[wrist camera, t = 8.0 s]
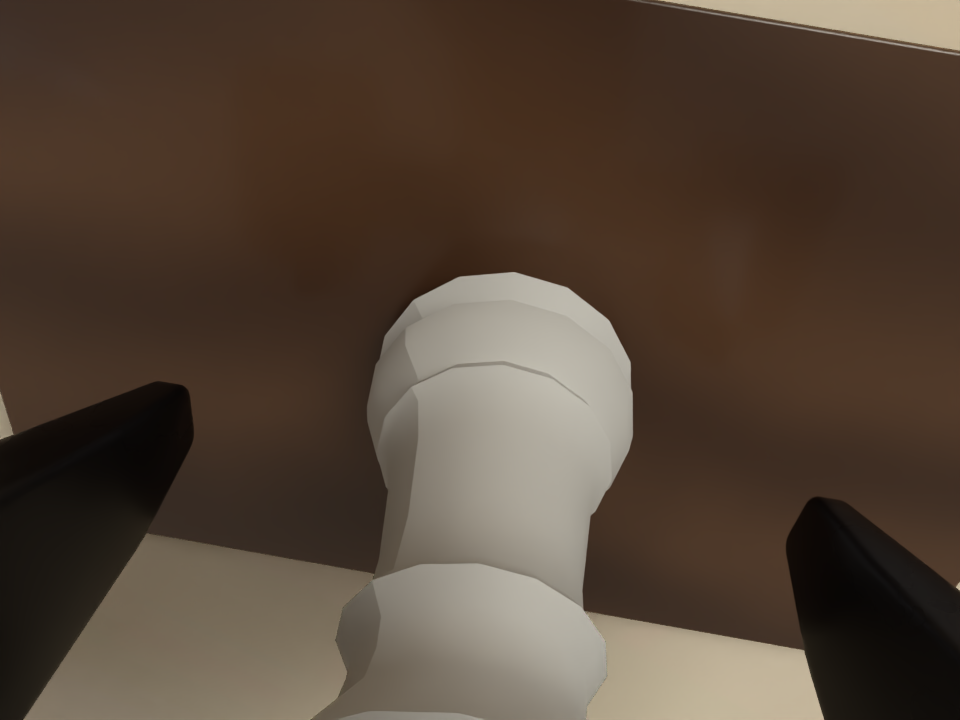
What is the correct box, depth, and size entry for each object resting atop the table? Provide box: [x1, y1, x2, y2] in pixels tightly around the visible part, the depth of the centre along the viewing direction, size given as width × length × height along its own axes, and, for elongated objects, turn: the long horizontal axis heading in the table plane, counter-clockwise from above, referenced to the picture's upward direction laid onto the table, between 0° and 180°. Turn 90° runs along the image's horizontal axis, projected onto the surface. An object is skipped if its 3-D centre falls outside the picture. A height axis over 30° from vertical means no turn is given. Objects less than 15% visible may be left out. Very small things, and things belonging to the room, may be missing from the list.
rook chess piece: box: [311, 272, 633, 720], centre depth 8 cm, size 4×4×8 cm
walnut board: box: [0, 0, 960, 650], centre depth 11 cm, size 12×20×1 cm, turn 82°
